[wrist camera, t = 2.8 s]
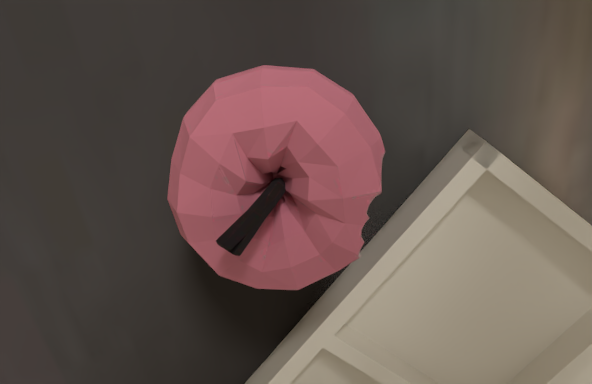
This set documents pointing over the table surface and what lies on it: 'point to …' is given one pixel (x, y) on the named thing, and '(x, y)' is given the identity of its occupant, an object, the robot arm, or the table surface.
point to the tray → (456, 289)
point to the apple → (275, 177)
